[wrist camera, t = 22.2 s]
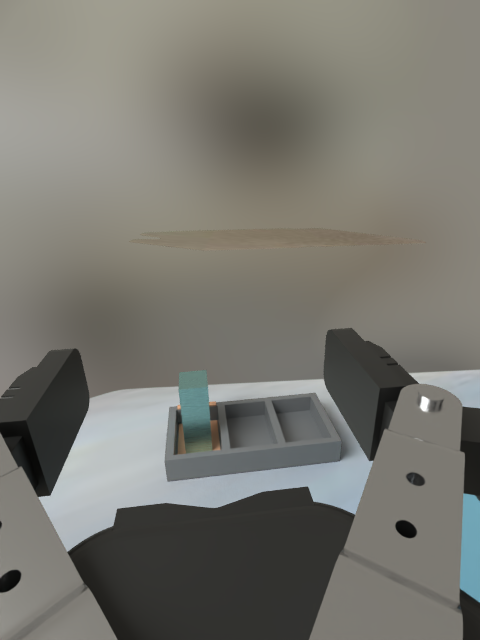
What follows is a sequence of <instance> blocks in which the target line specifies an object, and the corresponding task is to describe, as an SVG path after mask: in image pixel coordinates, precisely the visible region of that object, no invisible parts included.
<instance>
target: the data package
mask: <svg viewBox="0 0 480 640" xmlns="http://www.w3.org/2000/svg"><path fill="white" fill-rule="evenodd" d="M460 589H462V590H463V591H464V592H466V593H467V594H469V595H470V596H471V597H473V598H474V599H476V600H477V601H478V602H480V501H479V500H478V499H477V497H476V496H475V495H470V494H464V493H463V518H462V543H461V568H460Z"/></svg>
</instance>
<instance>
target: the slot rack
mask: <svg viewBox="0 0 480 640" xmlns="http://www.w3.org/2000/svg"><path fill="white" fill-rule="evenodd" d="M209 410H210V424H211V437H212V450H213V451H205V452H196V453H187V454H186V450H185V441H184V432H183V424H182V415H181V406H180V405H178V406H176V407H169V418H168V429H167V440H166V451H165V467H166V474H167V481H175V480H183V479H192V478H200V477H209V476H217V475H226V474H234V473H243V472H251V471H260V470H268V469H276V468H285V467H293V466H302V465H310V464H319V463H327V462H336V461H340V453H341V443H342V441H341V439H340V437H339V435H338V433H337V431H336V430H335V428H334V426H333V424H332V422H331V420H330V419H329V417H328V415H327V413H326V411H325V409H324V408H323V406H322V404H321V402H320V400H319V399H318V397H317V395H316V393H309V394H299V395H289V396H278V397H268V398H258V399H248V400H238V401H227V402H217V403H216V402H209Z"/></svg>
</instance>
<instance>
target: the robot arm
mask: <svg viewBox="0 0 480 640" xmlns="http://www.w3.org/2000/svg"><path fill="white" fill-rule="evenodd" d="M324 381H325V385H326V388H327V390H328V392H329V393H330V395H331V397H332V399H333V400H334V402H335V404H336V405H337V407H338V409H339V410H340V412H341V414H342V415H343V417H344V419H345V421H346V422H347V424H348V426H349V427H350V429H351V431H352V432H353V434H354V436H355V438H356V439H357V441H358V443H359V444H360V446H361V448H362V449H363V451H364V453H365V454H366V456H367V458H368V460H369V461H373V464H372V467H371V470H370V473H369V476H368V479H367V482H366V485H365V488H364V491H363V494H362V497H361V500H360V503H359V506H358V509H357V512H356V514H355V515H354V514H352V513H350V512H348V511H345V510H343V509H341V508H338V507H335V506H332V505H328V504H323V503H318V502H313V499H312V497H311V494H310V491H309V488H308V487H300V488H292V489H283V490H274V491H266V492H261V493H258V494H255V495H253V496H250V497H247V498H244V499H241V500H239V501H236V502H233V503H230V504H227V505H224V506H222V507H218V508H205V507H196V506H187V505H178V504H169V503H163V504H154V505H146V506H137V507H129V508H120V509H117V513H116V517H115V522H114V526H112V527H110V528H107V529H105V530H102V531H100V532H98V533H96V534H94V535H92V536H91V537H89V538H87V539H85V540H84V541H82V542H81V543H79V544H78V545H76V546H75V547H73V548H72V549H71V550H69V551H68V552H67V551H66V549H65V547H64V545H63V543H62V541H61V540H60V538H59V536H58V534H57V532H56V530H55V528H54V526H53V525H52V523H51V521H50V519H49V517H48V515H47V513H46V511H45V509H44V508H43V506H42V504H41V502H40V500H39V498H38V497H41V496H50V495H51V493H52V491H53V488H54V486H55V484H56V482H57V479H58V477H59V475H60V472H61V470H62V468H63V466H64V463H65V461H66V459H67V457H68V454H69V452H70V450H71V447H72V445H73V443H74V441H75V438H76V436H77V434H78V432H79V429H80V427H81V425H82V423H83V420H84V418H85V416H86V413H87V411H88V408H89V390H88V386H87V381H86V377H85V373H84V369H83V364H82V360H81V356H80V353H79V351H78V350H77V349H64V350H51V351H49V352H48V353H47V355H46V356H45V357H44V359H43V360H42V361H41V362H40V364H39V365H38V366H37V367H32V368H31V369H29V370H28V371H26V372H25V373H23V374H22V375H20V376H19V377H17V379H16V380H15V381H14V382H13V383H12V384H11V386H10V387H9V390H6V392H5V393H4V394H3V395H2V396H1V397H2V398H1V399H0V640H480V602H478V601H477V600H476V599H474V598H473V597H471V596H470V595H469V594H467V593H466V592H464V591H463V590H462V589H460V568H461V543H462V518H463V493H464V494H470V495H475V496H476V497H477V499H478V500H479V501H480V409H479V408H469V407H462V403H461V401H460V400H459V399H458V398H457V397H456V396H455V395H453V394H452V393H450V392H448V391H447V390H444V389H442V388H439V387H436V386H432V385H427V384H419V383H418V382H417V381H416V380H415V379H414V378H413V377H412V376H411V375H409V374H408V373H407V372H406V371H405V370H404V369H403V368H402V367H401V366H400V365H398V363H397V362H396V361H395V360H394V359H393V358H391V356H390V355H389V354H388V353H387V352H386V351H385V350H384V349H383V348H382V347H380V346H377V345H375V344H373V343H371V342H369V341H364V340H363V339H362V338H361V337H360V336H359V335H358V334H357V333H356V332H355V331H354V330H353V329H352V328H345V329H332V330H328V332H327V335H326V345H325V360H324Z"/></svg>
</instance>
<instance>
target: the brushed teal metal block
mask: <svg viewBox="0 0 480 640" xmlns="http://www.w3.org/2000/svg"><path fill="white" fill-rule="evenodd" d="M179 397H180V406H181V415H182V424H183V432H184V441H185V450H186V454H187V453H196V452H205V451H213V450H212V437H211V424H210V410H209V397H208V384H207V372H206V370H202V371H191V372H180V373H179Z"/></svg>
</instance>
